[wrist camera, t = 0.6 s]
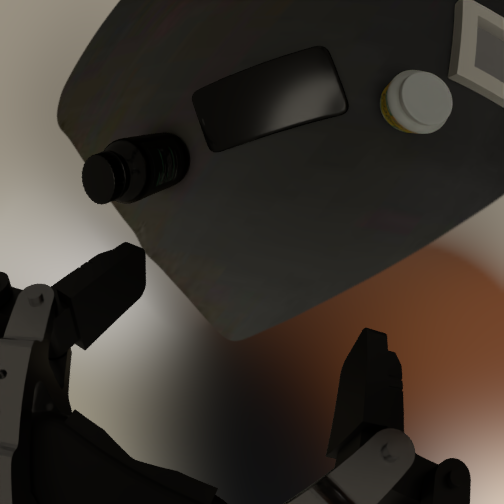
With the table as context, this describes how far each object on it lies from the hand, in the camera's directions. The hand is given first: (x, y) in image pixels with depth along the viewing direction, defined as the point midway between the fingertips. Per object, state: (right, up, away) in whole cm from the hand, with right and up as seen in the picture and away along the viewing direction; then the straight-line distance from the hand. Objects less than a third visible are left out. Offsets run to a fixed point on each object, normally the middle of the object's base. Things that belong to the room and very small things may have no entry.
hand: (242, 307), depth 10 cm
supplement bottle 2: (+15, +16, +14) cm, 26 cm away
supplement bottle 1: (-10, +13, +24) cm, 30 cm away
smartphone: (+2, +18, +18) cm, 26 cm away
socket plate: (+26, +22, +7) cm, 35 cm away
